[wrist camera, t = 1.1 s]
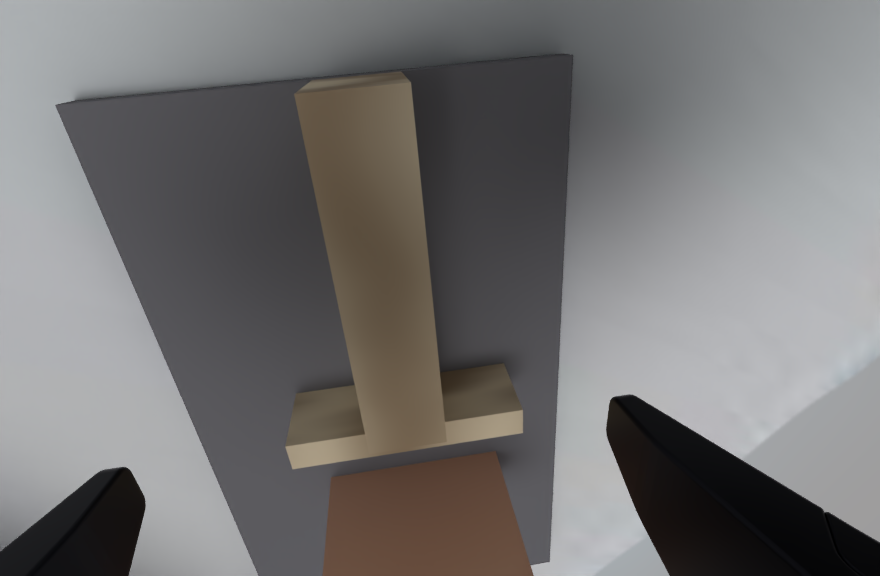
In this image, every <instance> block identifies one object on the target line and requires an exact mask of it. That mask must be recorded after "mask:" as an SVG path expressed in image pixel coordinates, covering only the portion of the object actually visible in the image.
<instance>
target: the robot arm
mask: <svg viewBox="0 0 880 576" xmlns="http://www.w3.org/2000/svg"><path fill="white" fill-rule="evenodd" d="M606 432H607V437H608V441H609V443H610V446H611V448H612V451H613V453H614V456H615V458H616V461H617V463H618V466H619V469H620V471H621V474H622V476H623V479H624V481H625V484H626V486H627V489H628V491H629V494H630V496H631V499H632V501H633V504H634V506H635V508H636V511H637V513H638V515H639V517H640V519H641V521H642V523H643V525H644V527H645V529H646V531H647V533H648V535H649V537H650V539H651V541H652V543H653V545H654V546H655V548H656V550H657V552H658V554H659V556H660V558H661V560H662V562H663V563H664V565H665V567H666V569H667V571H668V573H669V575H670V576H880V542H878V541H876V540H875V539H873V538H871V537H869V536H868V535H866V534H864V533H863V532H861V531H859V530H857V529H856V528H854V527H852V526H851V525H849V524H847V523H846V522H844V521H842V520H841V519H839V518H837V517H836V516H834V515H832V514H831V513H829V512H825V513H824V511H823V509H822V508H821V507H819V506H817V505H815V504H814V503H812V502H810V501H809V500H807V499H806V498H804V497H802V496H801V495H799V494H797V493H796V492H794V491H792V490H791V489H789V488H787V487H786V486H784V485H782V484H781V483H779V482H777V481H776V480H774V479H772V478H771V477H769V476H767V475H766V474H764V473H762V472H761V471H759V470H757V469H756V468H754V467H752V466H751V465H749V464H748V463H746V462H744V461H743V460H741V459H739V458H738V457H736V456H734V455H733V454H731V453H729V452H728V451H726V450H724V449H723V448H721V447H719V446H718V445H716V444H714V443H713V442H711V441H709V440H708V439H706V438H704V437H703V436H701V435H699V434H698V433H696V432H694V431H693V430H691V429H689V428H688V427H686V426H684V425H683V424H681V423H680V422H678V421H676V420H675V419H673V418H671V417H670V416H668V415H666V414H665V413H663V412H661V411H660V410H658V409H656V408H655V407H653V406H651V405H650V404H648V403H646V402H645V401H643V400H641V399H640V398H638V397H636V396H634V395H623V396H616V397H613V398H612V399H611V400H610V404H609V411H608V419H607V427H606ZM144 512H145V498H144V495H143V493H142V491H141V489H140V487H139V486H138V484H137V482H136V480H135V478H134V476H133V474H132V472H131V471H130V470H129V469H128V468H126V467H119V468H112V469H105V470H102V471H100V472H98V473H97V474H95V475H94V476H93V477H92V478H91V479H89V480H88V481H87V482H86V483H84V484H83V485H82V486H81V487H79V488H78V489H77V490H76V491H75V492H73V493H72V494H71V495H70V496H68V497H67V498H66V499H65V500H63V501H62V502H61V503H60V504H58V505H57V506H56V507H55V508H54V509H52V510H51V511H50V512H49V513H47V514H46V515H45V516H44V517H42V518H41V519H40V520H39V521H38V522H36V523H35V524H34V525H33V526H31V527H30V528H29V529H28V530H26V531H25V532H24V533H23V534H22V535H20V536H19V537H18V538H17V539H15V540H14V541H13V542H12V543H10V544H9V545H8V546H7V547H5V548H4V549H3V550H2V551H1V552H0V576H128V575H129V571H130V568H131V564H132V560H133V556H134V552H135V548H136V544H137V540H138V536H139V532H140V528H141V524H142V520H143V516H144Z"/></svg>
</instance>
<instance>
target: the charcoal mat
mask: <svg viewBox="0 0 880 576" xmlns="http://www.w3.org/2000/svg"><path fill="white" fill-rule="evenodd" d="M572 65H573V55H569V54H555V55H545V56H534V57H524V58H514V59H503V60H493V61H483V62H472V63H462V64H452V65H441V66H431V67H420V68H410V69H400V70H389V71H379V72H369V73H358V74H348V75H338V76H327V77H317V78H306V79H296V80H286V81H275V82H265V83H255V84H244V85H234V86H224V87H213V88H203V89H192V90H182V91H172V92H161V93H151V94H141V95H130V96H120V97H110V98H99V99H89V100H78V101H71V102H67V103H62V104H58V105H55V106H56V108H57V110H58V113H59V115H60V117H61V119H62V122H63V124H64V126H65V129H66V131H67V133H68V136H69V138H70V140H71V143H72V145H73V147H74V150H75V152H76V154H77V157H78V159H79V161H80V163H81V166H82V168H83V170H84V173H85V175H86V177H87V180H88V182H89V184H90V187H91V189H92V191H93V194H94V196H95V198H96V200H97V203H98V205H99V207H100V210H101V212H102V214H103V217H104V219H105V221H106V224H107V226H108V228H109V231H110V233H111V235H112V237H113V240H114V242H115V244H116V247H117V249H118V251H119V254H120V256H121V258H122V261H123V263H124V265H125V268H126V270H127V272H128V274H129V277H130V279H131V281H132V284H133V286H134V288H135V291H136V293H137V295H138V298H139V300H140V302H141V305H142V307H143V309H144V312H145V314H146V316H147V318H148V321H149V323H150V325H151V328H152V330H153V332H154V335H155V337H156V339H157V342H158V344H159V346H160V349H161V351H162V353H163V355H164V358H165V360H166V362H167V365H168V367H169V369H170V372H171V374H172V376H173V379H174V381H175V383H176V386H177V388H178V390H179V392H180V395H181V397H182V399H183V402H184V404H185V406H186V409H187V411H188V413H189V416H190V418H191V420H192V423H193V425H194V427H195V429H196V432H197V434H198V436H199V439H200V441H201V443H202V446H203V448H204V450H205V453H206V455H207V457H208V460H209V462H210V464H211V466H212V469H213V471H214V473H215V476H216V478H217V480H218V483H219V485H220V487H221V490H222V492H223V494H224V497H225V499H226V501H227V504H228V506H229V508H230V510H231V513H232V515H233V517H234V520H235V522H236V524H237V527H238V529H239V531H240V534H241V536H242V538H243V541H244V543H245V545H246V547H247V550H248V552H249V554H250V557H251V559H252V561H253V564H254V566H255V568H256V571H257V573H258V575H259V576H323V565H324V553H325V541H326V530H327V518H328V507H329V495H330V483H331V477H336V476H343V475H349V474H355V473H361V472H368V471H374V470H380V469H386V468H393V467H399V466H405V465H411V464H418V463H424V462H430V461H436V460H443V459H449V458H455V457H461V456H468V455H474V454H480V453H486V452H493V451H496V454H497V457H498V461H499V464H500V467H501V470H502V474H503V477H504V480H505V484H506V487H507V490H508V493H509V497H510V500H511V503H512V507H513V510H514V513H515V516H516V520H517V523H518V526H519V530H520V533H521V536H522V540H523V543H524V546H525V549H526V553H527V556H528V559H529V563H530V565H534V564H540V563H545V562H550V542H551V520H552V499H553V477H554V455H555V433H556V412H557V390H558V368H559V347H560V325H561V303H562V282H563V260H564V238H565V217H566V195H567V173H568V152H569V130H570V108H571V87H572ZM391 72H402V73H403V74H404V75H405V76H406V77H407V79H408V80H409V81H410V82H411V88H412V98H413V108H414V118H415V128H416V138H417V148H418V158H419V168H420V178H421V188H422V198H423V208H424V218H425V228H426V238H427V248H428V258H429V268H430V278H431V288H432V298H433V308H434V318H435V328H436V338H437V348H438V358H439V368H440V372H447V371H454V370H461V369H468V368H475V367H481V366H488V365H495V364H502V363H504V365H505V367H506V370H507V372H508V375H509V377H510V380H511V382H512V384H513V387H514V389H515V392H516V394H517V397H518V399H519V402H520V404H521V406H522V409H523V433H520V434H514V435H507V436H501V437H495V438H488V439H482V440H476V441H469V442H463V443H457V444H450V445H444V446H438V447H431V448H425V449H419V450H412V451H406V452H400V453H393V454H387V455H381V456H374V457H368V458H362V459H355V460H349V461H343V462H336V463H330V464H323V465H317V466H311V467H304V468H298V469H292V466H291V463H290V460H289V457H288V454H287V451H286V447H285V445H286V440H287V436H288V431H289V426H290V421H291V416H292V411H293V406H294V401H295V396H296V393H303V392H310V391H317V390H324V389H331V388H337V387H344V386H351V385H355V384H354V379H353V374H352V369H351V364H350V360H349V355H348V350H347V345H346V340H345V336H344V331H343V326H342V321H341V316H340V312H339V307H338V302H337V297H336V292H335V288H334V283H333V278H332V273H331V268H330V264H329V259H328V254H327V249H326V244H325V240H324V235H323V230H322V225H321V220H320V216H319V211H318V206H317V201H316V196H315V192H314V187H313V182H312V177H311V172H310V168H309V163H308V158H307V153H306V148H305V144H304V139H303V134H302V129H301V124H300V120H299V115H298V110H297V105H296V101H295V96H294V94H295V93H296V92H297V91H299V90H300V89H301V88H302V87H304V86H305V85H306V84H308V83H309V82H310V81H311V80H319V79H329V78H339V77H350V76H360V75H370V74H381V73H391Z"/></svg>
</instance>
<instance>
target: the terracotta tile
mask: <svg viewBox="0 0 880 576" xmlns="http://www.w3.org/2000/svg"><path fill="white" fill-rule="evenodd" d="M323 576H533V572H532V569H531V566H530V563H529V559H528V556H527V553H526V549H525V546H524V543H523V540H522V536H521V533H520V530H519V526H518V523H517V520H516V516H515V513H514V510H513V507H512V503H511V500H510V497H509V493H508V490H507V487H506V484H505V480H504V477H503V474H502V470H501V467H500V464H499V461H498V457H497V454H496V451H493V452H486V453H480V454H474V455H468V456H461V457H455V458H449V459H443V460H436V461H430V462H424V463H418V464H411V465H405V466H399V467H393V468H386V469H380V470H374V471H368V472H361V473H355V474H349V475H343V476H336V477H331V483H330V495H329V507H328V518H327V530H326V541H325V553H324V565H323Z"/></svg>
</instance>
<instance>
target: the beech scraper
mask: <svg viewBox="0 0 880 576" xmlns="http://www.w3.org/2000/svg"><path fill="white" fill-rule="evenodd" d="M294 96H295V101H296V105H297V110H298V115H299V120H300V124H301V129H302V134H303V139H304V144H305V148H306V153H307V158H308V163H309V168H310V172H311V177H312V182H313V187H314V192H315V196H316V201H317V206H318V211H319V216H320V220H321V225H322V230H323V235H324V240H325V244H326V249H327V254H328V259H329V264H330V268H331V273H332V278H333V283H334V288H335V292H336V297H337V302H338V307H339V312H340V316H341V321H342V326H343V331H344V336H345V340H346V345H347V350H348V355H349V360H350V364H351V369H352V374H353V379H354V384H355V385H351V386H344V387H337V388H331V389H324V390H317V391H310V392H303V393H296V396H295V401H294V406H293V411H292V416H291V421H290V426H289V431H288V436H287V440H286V445H285V447H286V451H287V454H288V457H289V460H290V463H291V466H292V469H298V468H304V467H311V466H317V465H323V464H330V463H336V462H343V461H349V460H355V459H362V458H368V457H374V456H381V455H387V454H393V453H400V452H406V451H412V450H419V449H425V448H431V447H438V446H444V445H450V444H457V443H463V442H469V441H476V440H482V439H488V438H495V437H501V436H507V435H514V434H520V433H523V409H522V406H521V404H520V402H519V399H518V397H517V394H516V392H515V389H514V387H513V384H512V382H511V380H510V377H509V375H508V372H507V370H506V367H505V365H504V363H502V364H495V365H488V366H481V367H475V368H468V369H461V370H454V371H447V372H440V368H439V358H438V348H437V338H436V328H435V318H434V308H433V298H432V288H431V278H430V268H429V258H428V248H427V238H426V228H425V218H424V208H423V198H422V188H421V178H420V168H419V158H418V148H417V138H416V128H415V118H414V108H413V98H412V88H411V82H410V81H409V80H408V79H407V77H406V76H405V75H404V74H403V73H402V72H391V73H381V74H370V75H360V76H350V77H339V78H329V79H319V80H311V81H310V82H309V83H308V84H306V85H305V86H304V87H302V88H301V89H300V90H299V91H297V92H296V93H295V94H294Z"/></svg>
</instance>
